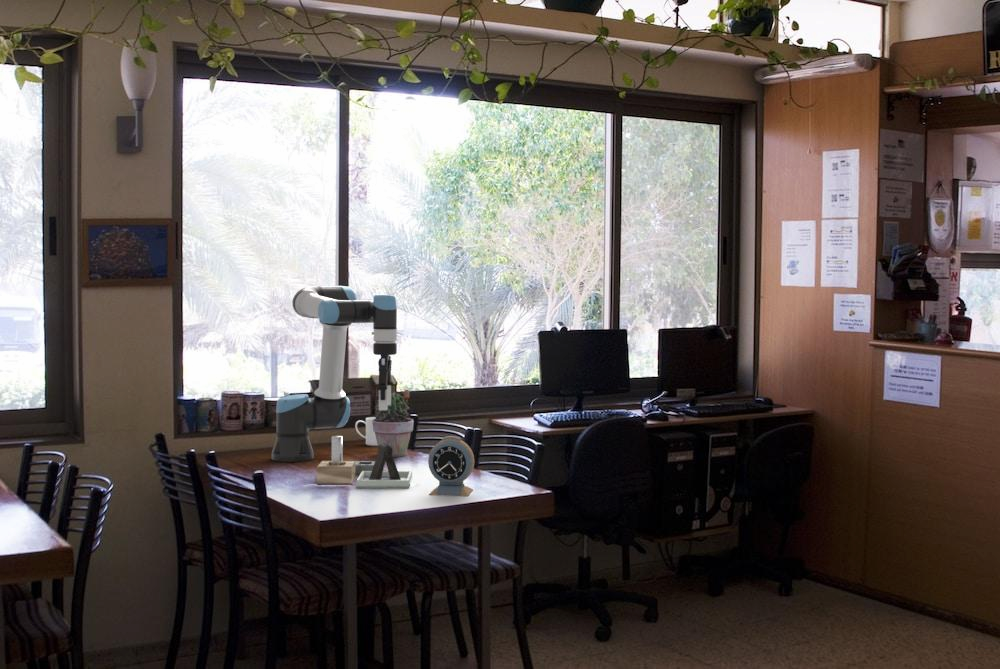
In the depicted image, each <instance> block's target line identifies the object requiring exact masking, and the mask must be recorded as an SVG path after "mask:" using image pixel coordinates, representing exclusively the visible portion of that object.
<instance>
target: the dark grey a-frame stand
mask: <svg viewBox="0 0 1000 669" xmlns="http://www.w3.org/2000/svg"><path fill="white" fill-rule="evenodd" d="M385 448H386V449H385ZM374 461H375V464H374V467H373V469H372V472H371V475H370V477H368V480H402V479H401V477H400V476H399V473H398V471H399V470H398V468H397V465H396V462H395V459H394V457H393V456H392V447H390V446H388V445H386V444H384V445H383V444H379V446H377V454H376V458H375V460H374ZM385 463H386V466H387V468H386V469H387V471H388V472H389V476H390V477H384V478H383V477H382V473H383V471H384V468H385Z"/></svg>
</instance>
